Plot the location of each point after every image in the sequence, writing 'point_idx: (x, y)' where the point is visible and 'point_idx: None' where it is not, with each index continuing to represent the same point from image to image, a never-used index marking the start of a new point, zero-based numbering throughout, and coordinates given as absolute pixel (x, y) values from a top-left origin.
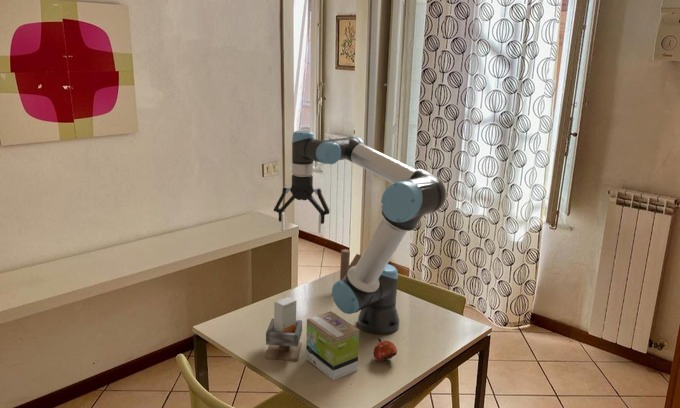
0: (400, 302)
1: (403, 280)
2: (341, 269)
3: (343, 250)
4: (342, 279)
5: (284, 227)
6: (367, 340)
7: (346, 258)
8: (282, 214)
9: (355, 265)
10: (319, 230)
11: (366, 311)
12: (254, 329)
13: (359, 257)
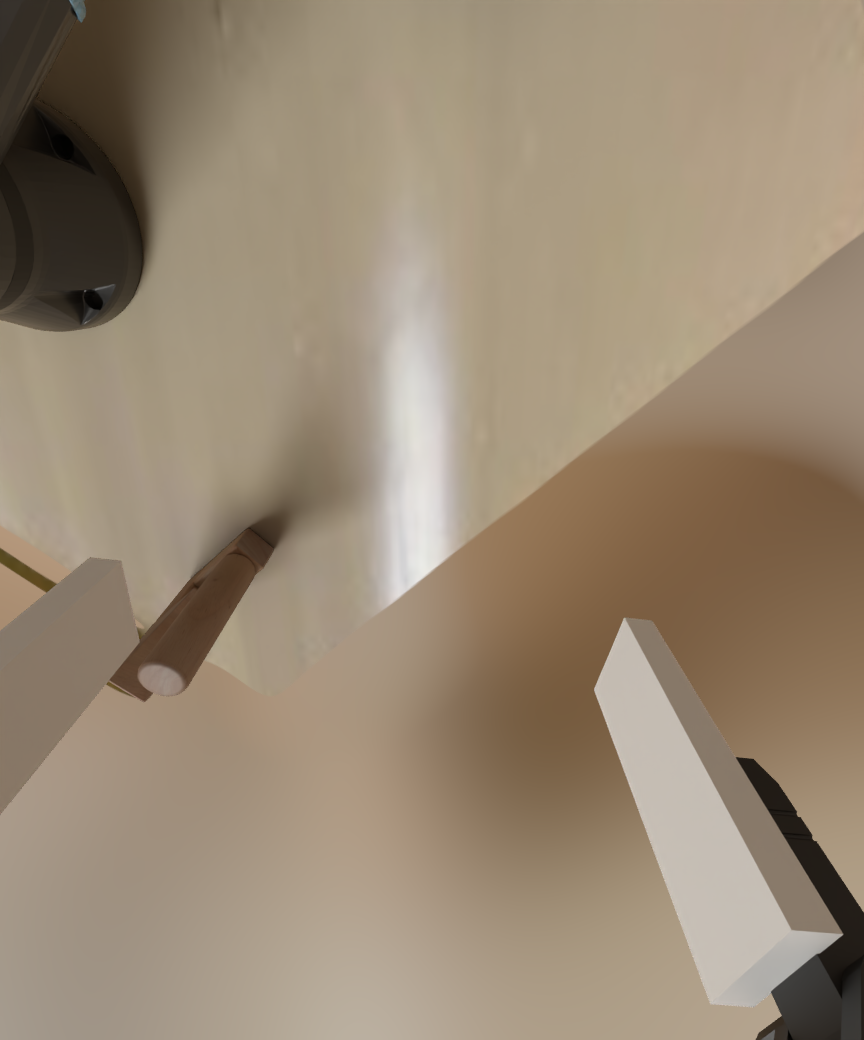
0: (2, 454)
1: None
2: (222, 600)
3: (172, 682)
4: (234, 568)
5: (605, 699)
6: None
7: (168, 635)
8: (810, 915)
9: (160, 634)
10: (79, 583)
11: (17, 146)
12: (641, 159)
13: (130, 675)
